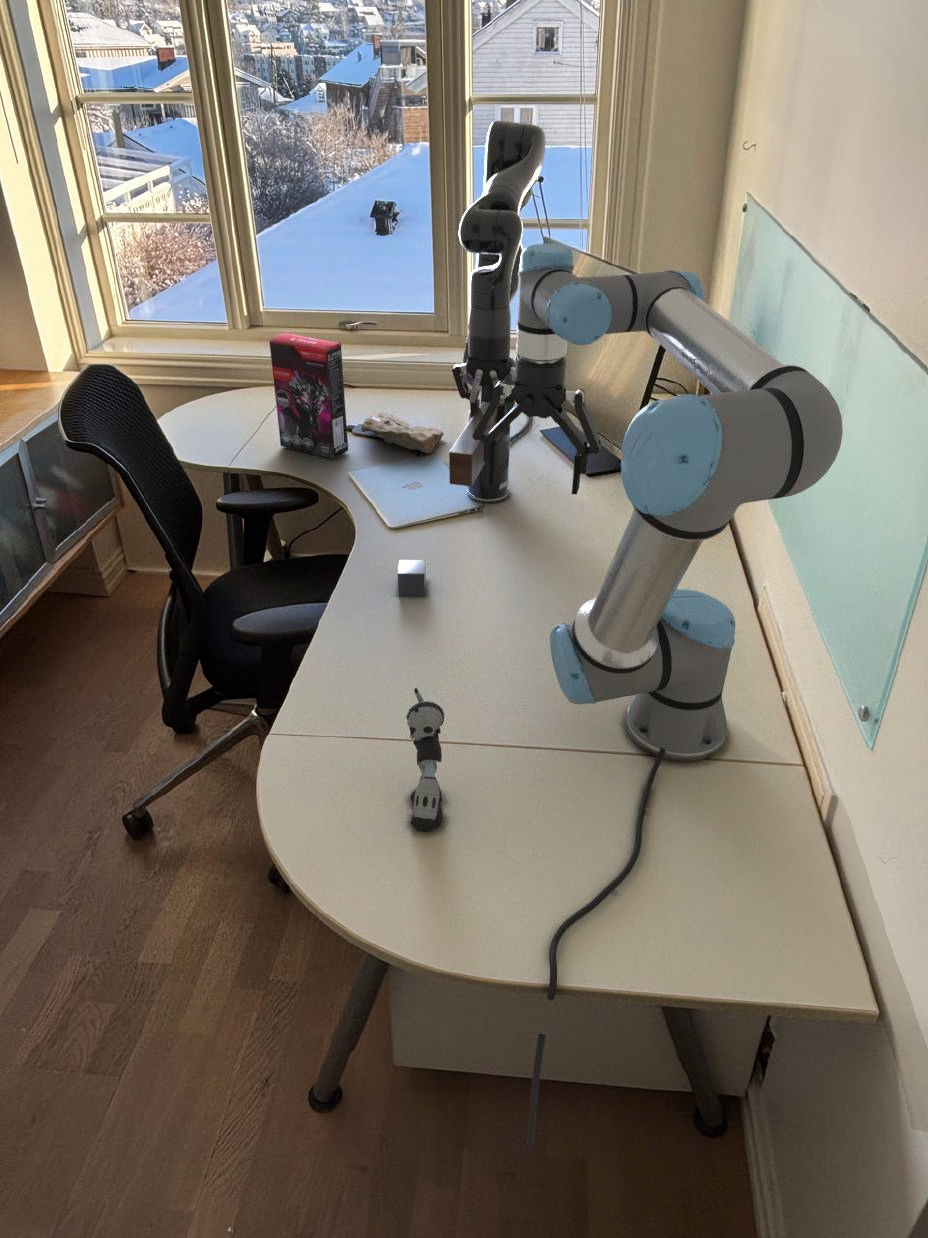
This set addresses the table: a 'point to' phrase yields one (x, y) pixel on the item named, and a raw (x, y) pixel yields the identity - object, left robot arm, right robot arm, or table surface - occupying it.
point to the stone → (402, 432)
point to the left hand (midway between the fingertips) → (487, 420)
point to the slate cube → (411, 577)
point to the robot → (426, 762)
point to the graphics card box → (309, 394)
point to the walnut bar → (469, 450)
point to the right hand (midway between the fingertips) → (533, 485)
